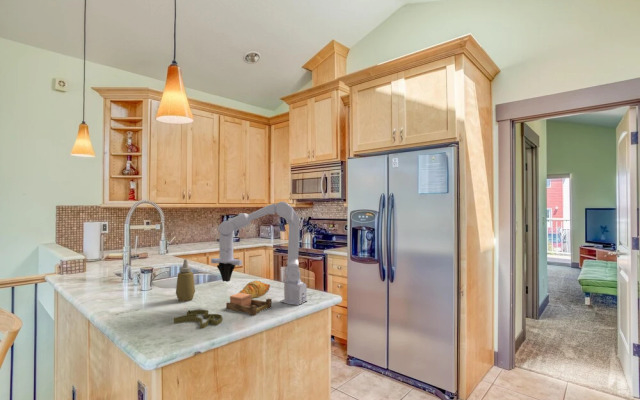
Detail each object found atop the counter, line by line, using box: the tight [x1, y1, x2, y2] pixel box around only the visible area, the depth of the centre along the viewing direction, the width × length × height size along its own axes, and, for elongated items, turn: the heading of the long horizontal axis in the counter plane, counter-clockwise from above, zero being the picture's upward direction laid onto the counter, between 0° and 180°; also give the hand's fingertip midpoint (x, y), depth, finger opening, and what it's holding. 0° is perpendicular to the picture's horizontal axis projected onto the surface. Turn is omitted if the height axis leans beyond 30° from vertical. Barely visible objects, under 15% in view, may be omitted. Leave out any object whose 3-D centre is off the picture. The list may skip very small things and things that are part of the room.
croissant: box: [238, 280, 271, 299], centre depth 158 cm, size 21×10×8 cm, turn 148°
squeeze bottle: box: [175, 258, 196, 302], centre depth 150 cm, size 8×8×18 cm
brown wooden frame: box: [225, 298, 272, 316], centre depth 138 cm, size 15×11×4 cm
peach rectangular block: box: [229, 292, 252, 306], centre depth 139 cm, size 6×6×4 cm
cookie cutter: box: [173, 309, 223, 329], centre depth 124 cm, size 18×12×2 cm, turn 65°
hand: (226, 281), depth 143 cm, fingers closed
